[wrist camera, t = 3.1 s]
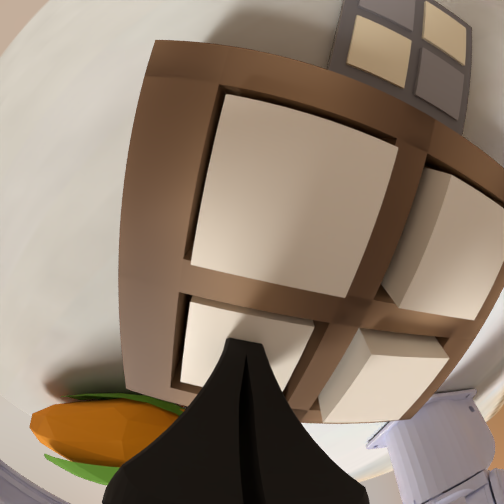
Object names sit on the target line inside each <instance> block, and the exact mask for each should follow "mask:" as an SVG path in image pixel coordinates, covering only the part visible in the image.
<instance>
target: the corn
mask: <svg viewBox="0 0 504 504" xmlns="http://www.w3.org/2000/svg"><path fill="white" fill-rule="evenodd" d="M61 397H65V396H61ZM66 397H70V398H74V399H78V400H86V399H107V400H95V401H79V402H72V403H64V404H55V405H52V406H50V407H47V408H45V409H43V410H40V411H38V412H36V413H33V414H32V418H31V423H30V429H31V430H32V432H33V433H34V434H35V436H36V437H37V439H38V440H39V441H40V442H41V443H42V444H44V445H45V446H47V447H48V448H50V449H51V450H53V451H55V452H56V453H58V454H59V455H61V456H63V457H65V458H66V459H68V460H70V461H67V460H63V459H59V458H55V457H52V456H49V455H47V454H44V456H45V458H46V459H47V460H49V461H51V462H53V463H54V464H56V465H58V466H59V467H61V468H63V469H65V470H66V471H69V472H70V473H72V474H74V475H76V476H78V477H81V478H84V479H86V480H89V481H93V482H96V483H99V484H103V485H108V483H109V482H110V480H111V478H112V477H113V476H114V474H115V473H116V472H117V471H118V469H119V468H120V467H121V466H122V464H124V463H125V462H127V461H128V460H129V459H131V458H132V457H134V456H135V455H136V454H138V453H139V452H141V451H142V450H143V449H145V448H146V447H147V446H148V445H149V444H151V443H152V442H153V441H154V440H155V439H156V438H158V437H159V436H160V435H161V434H162V433H163V432H164V431H165V430H166V429H167V428H169V427H170V426H171V425H172V424H173V422H174V421H175V420H176V419H177V418H178V417H179V416H180V415H181V414H182V413H183V412H184V411H185V409H184V408H182V407H180V406H178V405H176V404H174V403H170V402H167V401H163V400H160V399H156V398H153V397H149V396H145V395H134V394H125V393H96V394H79V395H69V396H66Z"/></svg>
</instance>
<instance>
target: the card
mask: <svg viewBox="0 0 504 504" xmlns="http://www.w3.org/2000/svg"><path fill="white" fill-rule="evenodd" d="M471 59H472V27H470V26H469V25H468V24H467V23H465V22H464V21H463V20H461V19H460V18H459V17H457V16H456V15H454V14H453V13H452V12H450V11H449V10H447V9H446V8H444V7H443V6H442V5H440V4H438V3H437V2H435V1H434V0H343V3H342V7H341V12H340V16H339V21H338V25H337V30H336V34H335V38H334V42H333V47H332V51H331V55H330V59H329V63H328V67H327V70H330V71H333V72H336V73H338V74H341V75H344V76H347V77H349V78H352V79H354V80H357V81H359V82H362V83H364V84H367V85H369V86H371V87H374V88H376V89H378V90H380V91H383V92H385V93H387V94H389V95H391V96H393V97H395V98H397V99H399V100H401V101H403V102H405V103H407V104H409V105H411V106H413V107H415V108H417V109H418V110H420V111H422V112H424V113H426V114H427V115H429V116H431V117H432V118H434V119H436V120H438V121H439V122H441V123H442V124H444V125H446V126H447V127H449V128H450V129H452V130H453V131H455V132H456V133H458V134H459V135H461V136H462V133H463V128H464V122H465V116H466V110H467V103H468V95H469V86H470V75H471Z"/></svg>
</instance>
